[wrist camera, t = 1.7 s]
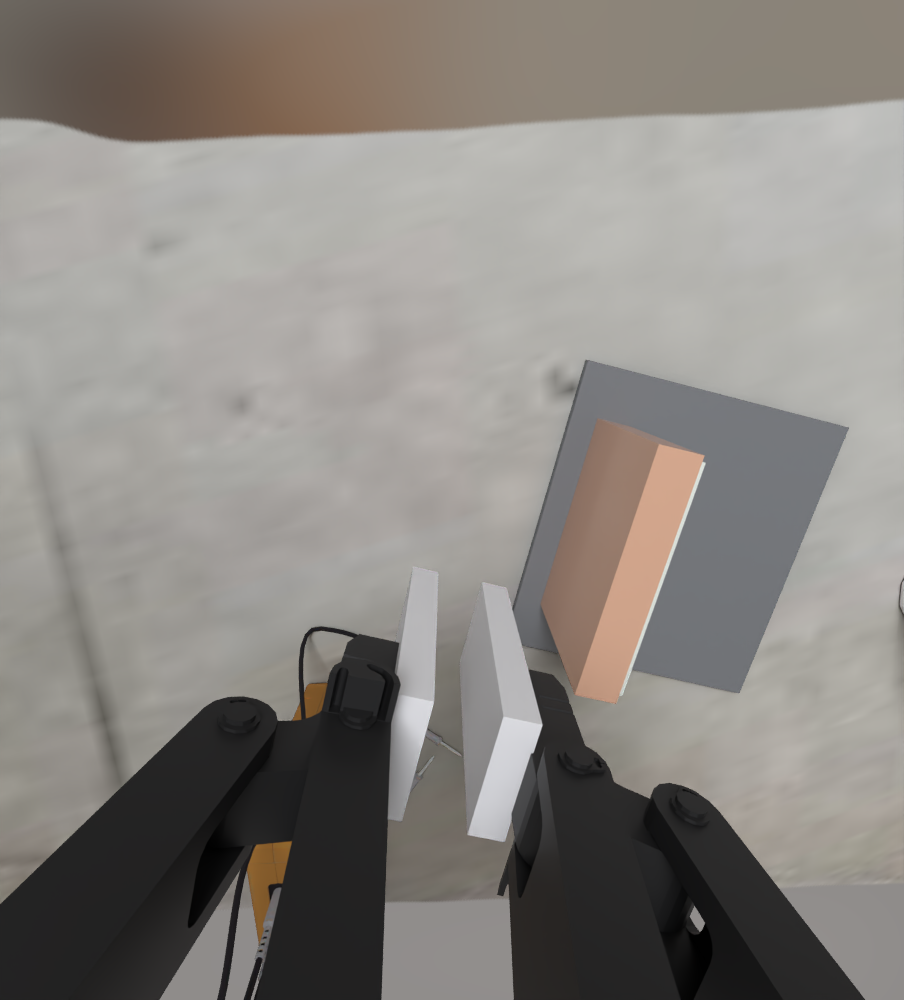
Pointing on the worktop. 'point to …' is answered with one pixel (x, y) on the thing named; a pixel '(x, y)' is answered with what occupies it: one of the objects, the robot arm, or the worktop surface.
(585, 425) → the mat
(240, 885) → the multimeter
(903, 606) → the white cup
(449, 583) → the worktop surface
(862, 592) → the worktop surface
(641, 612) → the tile
